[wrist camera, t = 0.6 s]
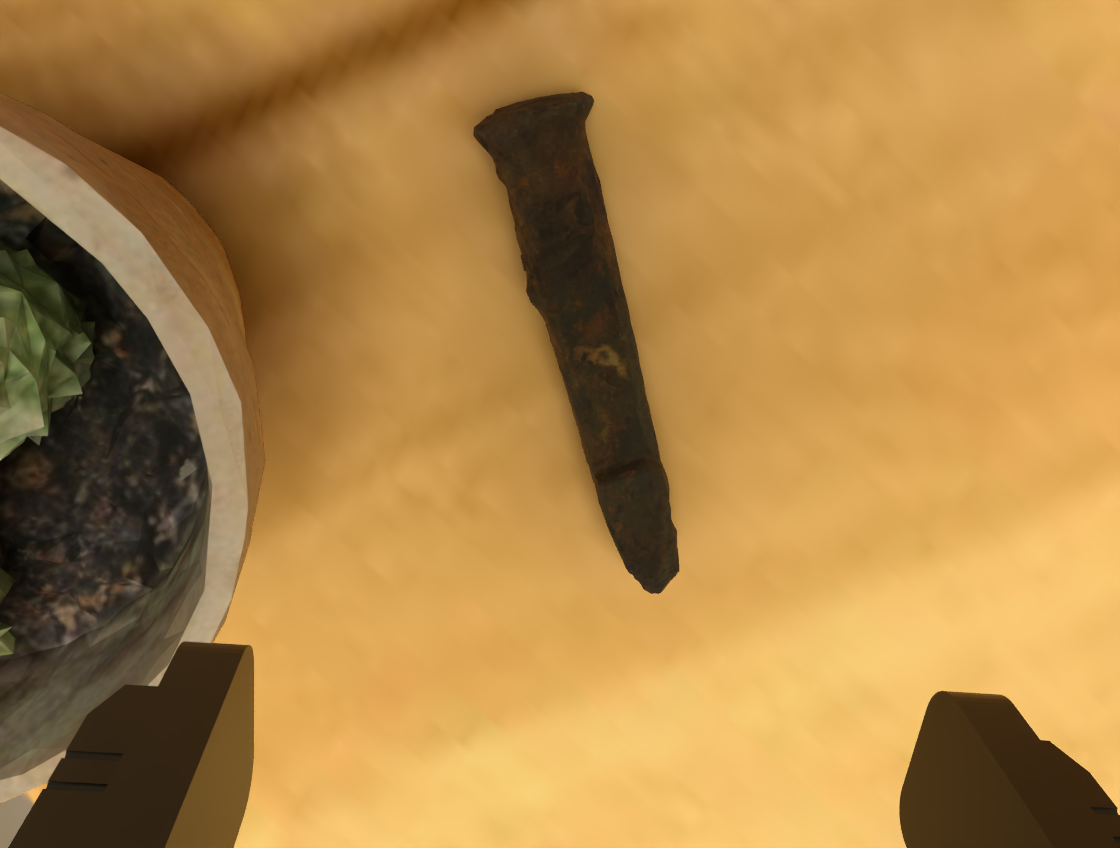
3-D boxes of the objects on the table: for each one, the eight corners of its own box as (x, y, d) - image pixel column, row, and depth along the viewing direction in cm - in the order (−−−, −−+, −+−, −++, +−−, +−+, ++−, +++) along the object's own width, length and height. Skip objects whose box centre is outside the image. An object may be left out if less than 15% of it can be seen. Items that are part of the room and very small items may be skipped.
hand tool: (471, 109, 34) (468, 119, 30) (584, 82, 34) (598, 90, 30) (582, 573, 41) (593, 635, 37) (676, 552, 41) (698, 613, 37)
